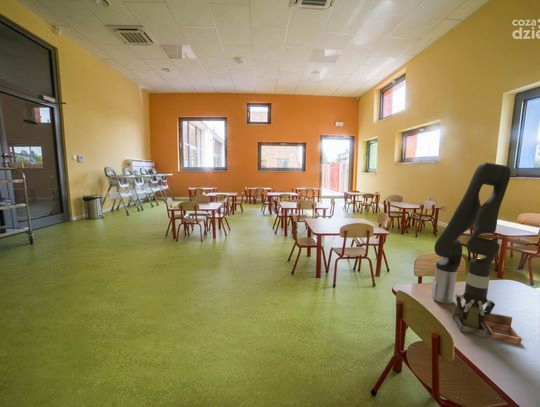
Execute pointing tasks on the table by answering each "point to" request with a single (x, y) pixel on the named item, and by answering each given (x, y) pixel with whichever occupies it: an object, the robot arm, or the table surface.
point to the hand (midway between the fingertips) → (471, 320)
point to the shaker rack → (489, 326)
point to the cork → (472, 317)
